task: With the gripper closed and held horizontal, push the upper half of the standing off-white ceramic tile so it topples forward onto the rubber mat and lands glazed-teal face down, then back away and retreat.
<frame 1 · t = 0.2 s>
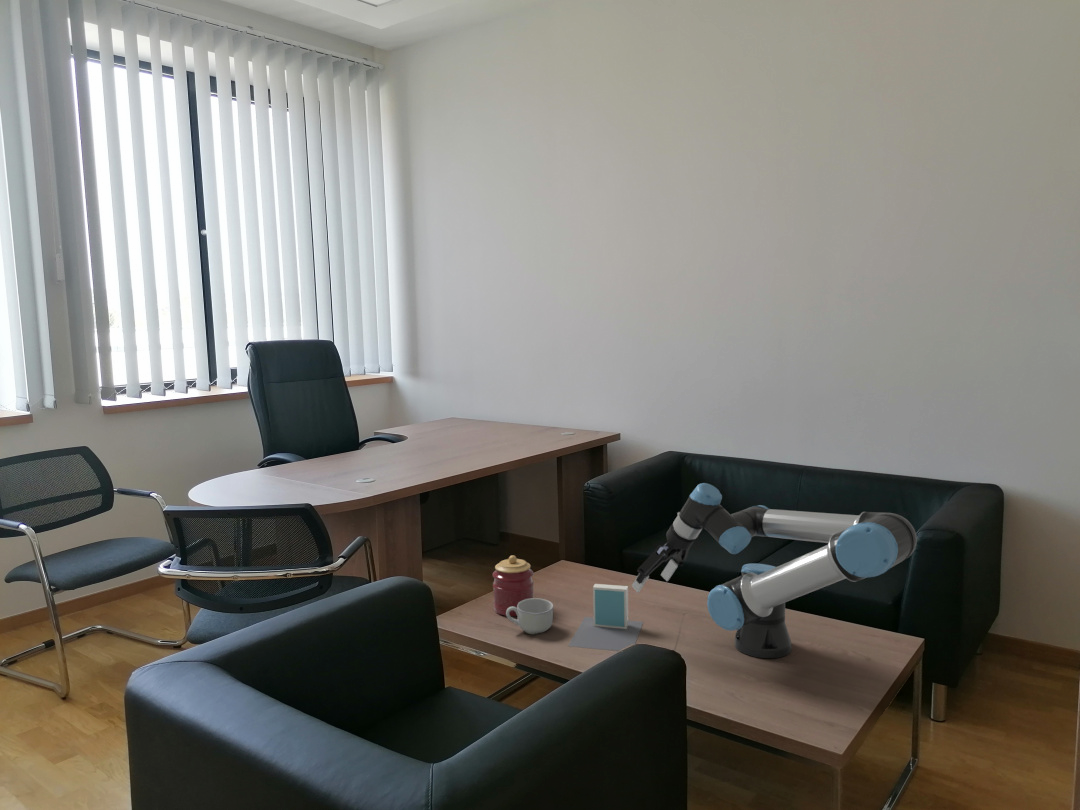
hand: (650, 583, 229), 15 cm above the table, tool tilted 35°, fingers open, 13 cm apart
teacup: (530, 631, 235), on the table
canister: (513, 609, 252), on the table
mat: (607, 635, 230), on the table
tile: (610, 625, 236), resting on mat
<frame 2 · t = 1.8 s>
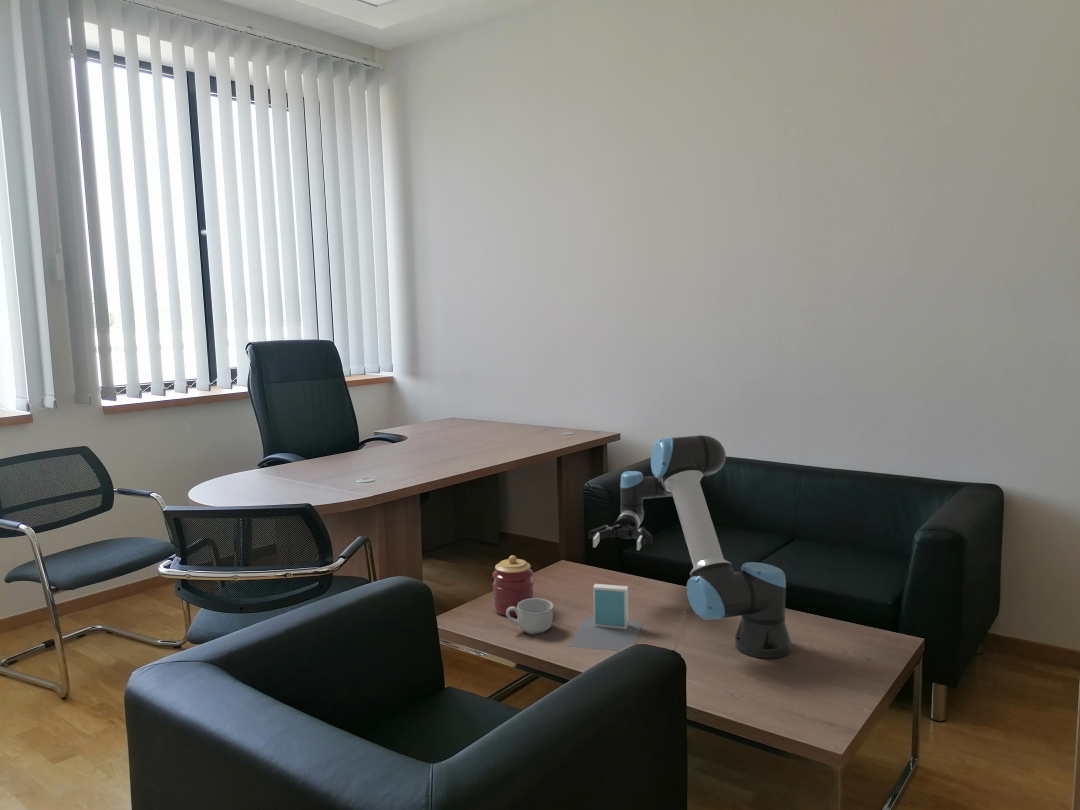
hand: (616, 544, 242), 23 cm above the table, tool horizontal, fingers open, 13 cm apart
nothing on the table moved.
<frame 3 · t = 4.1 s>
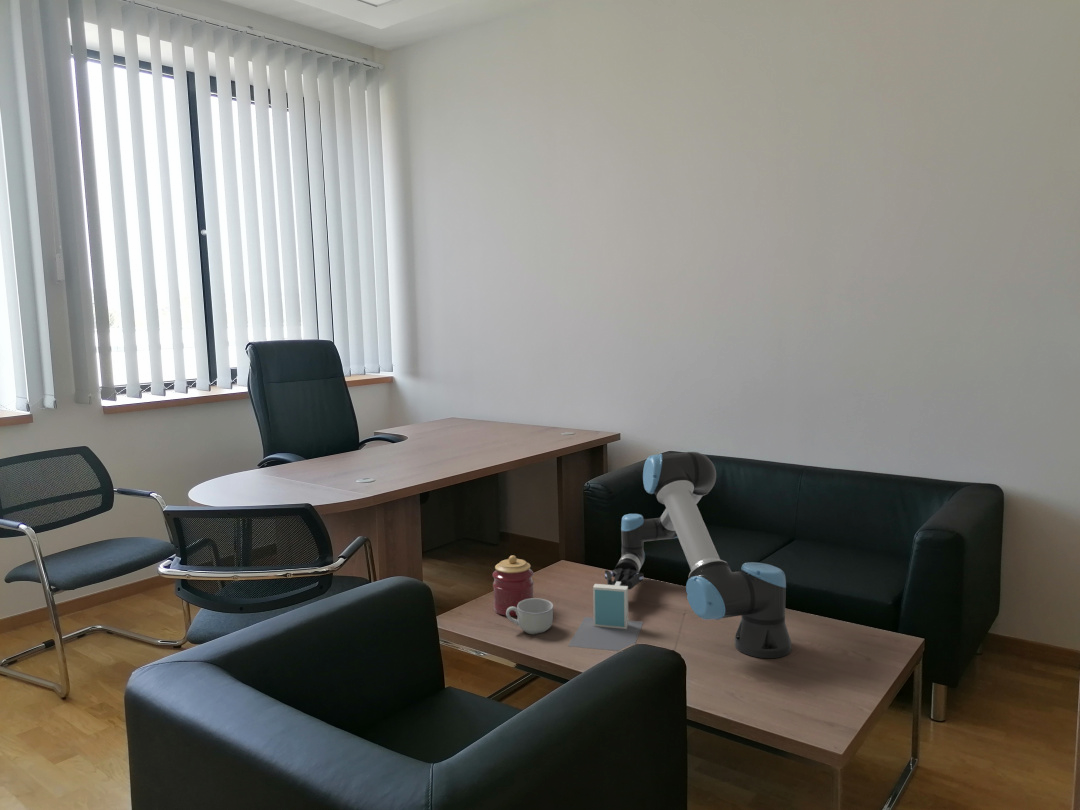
hand: (615, 592, 242), 8 cm above the table, tool horizontal, fingers closed
nothing on the table moved.
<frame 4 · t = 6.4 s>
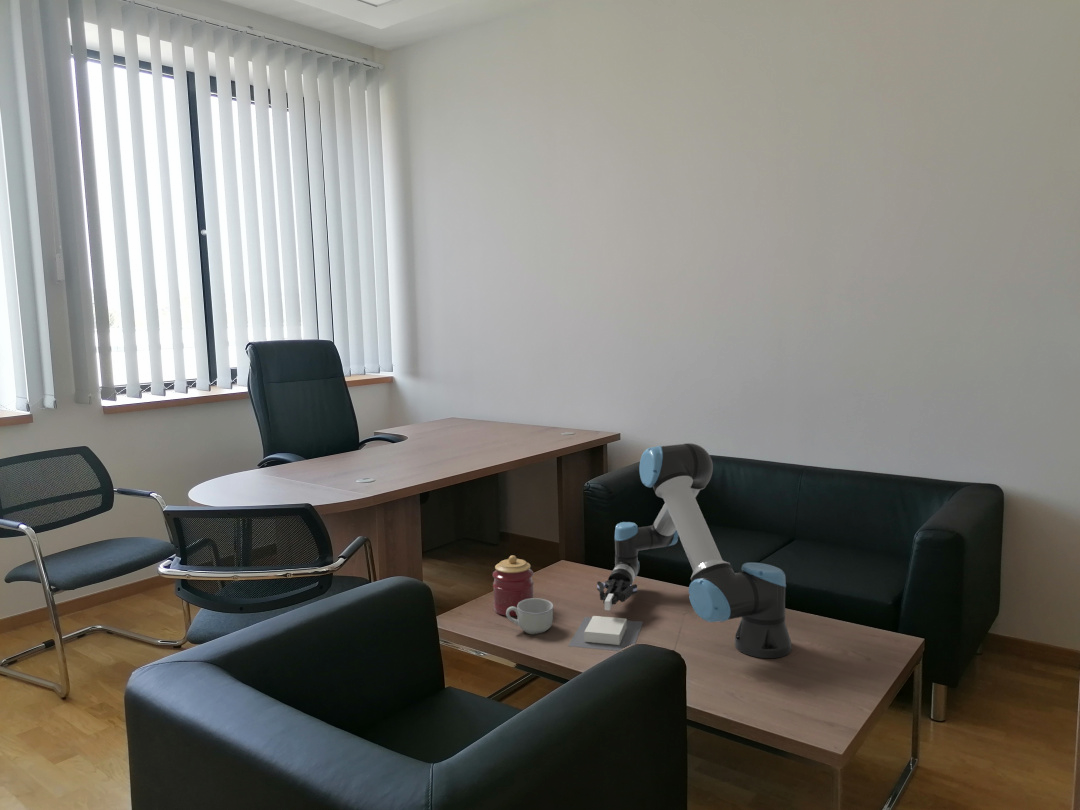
hand: (607, 605, 232), 8 cm above the table, tool horizontal, fingers closed
tile: (609, 622, 234), point 2 cm above the table, tilted 90°, touching mat
everything else where it was.
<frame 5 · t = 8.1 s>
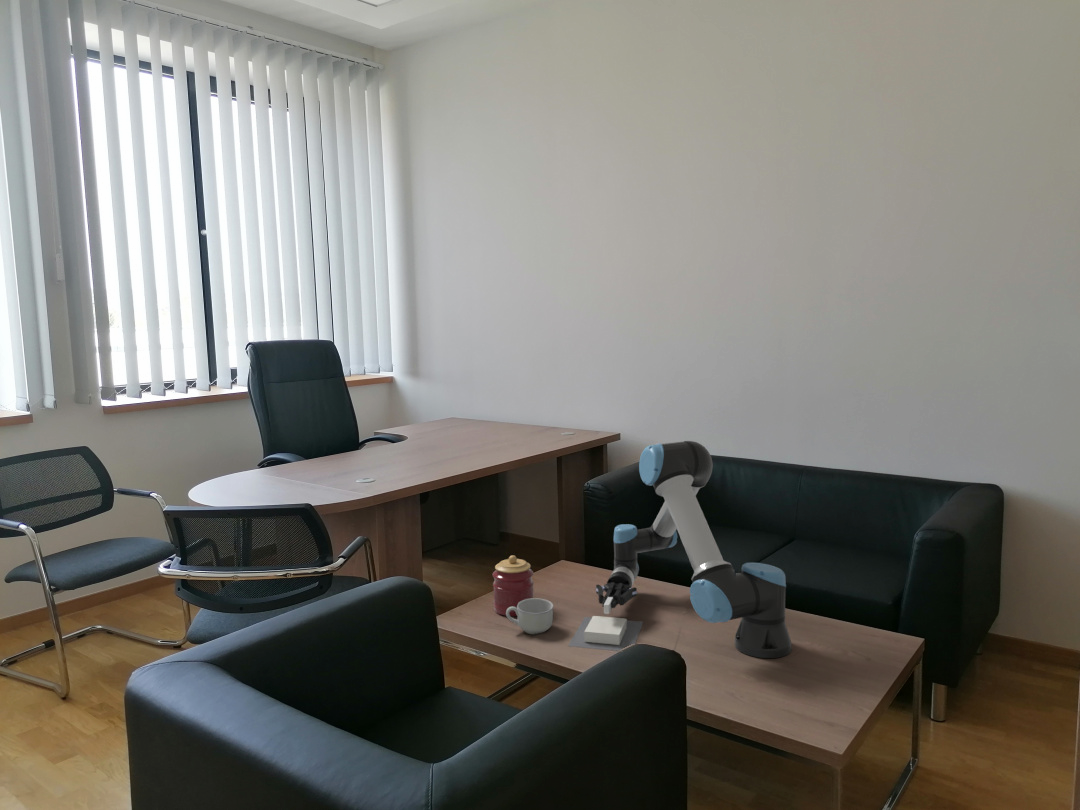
hand: (606, 609, 228), 8 cm above the table, tool horizontal, fingers closed
nothing on the table moved.
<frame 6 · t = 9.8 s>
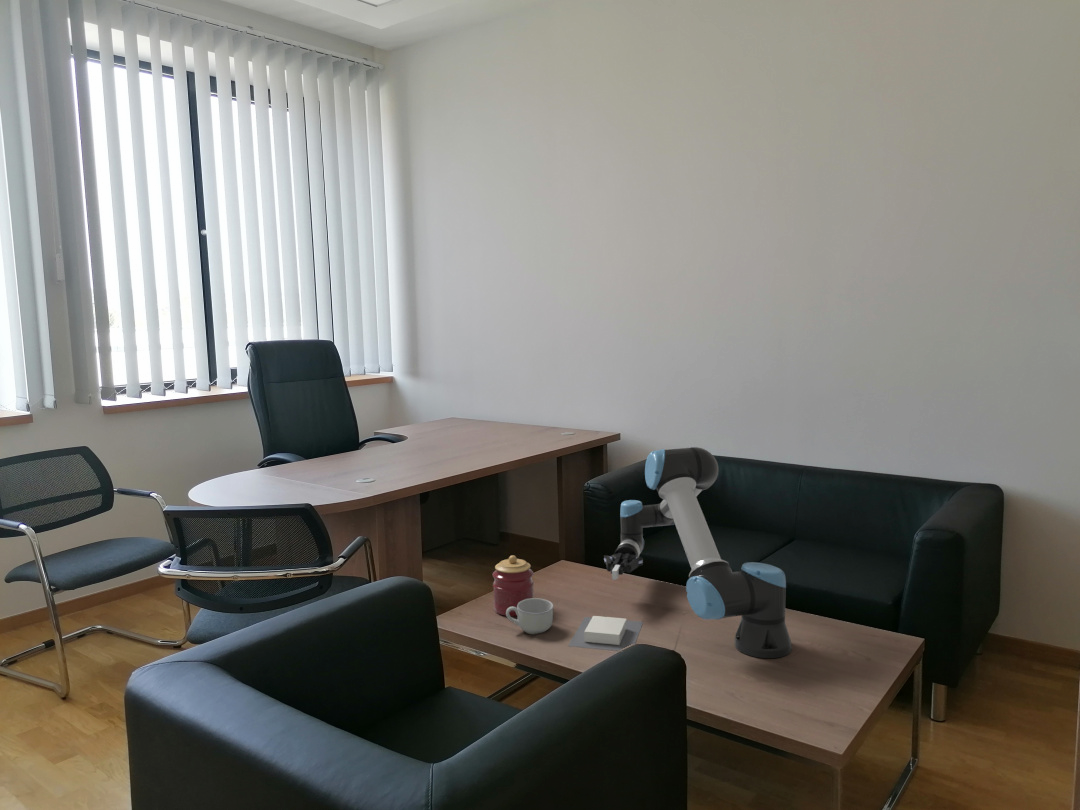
hand: (614, 575, 242), 13 cm above the table, tool horizontal, fingers closed
nothing on the table moved.
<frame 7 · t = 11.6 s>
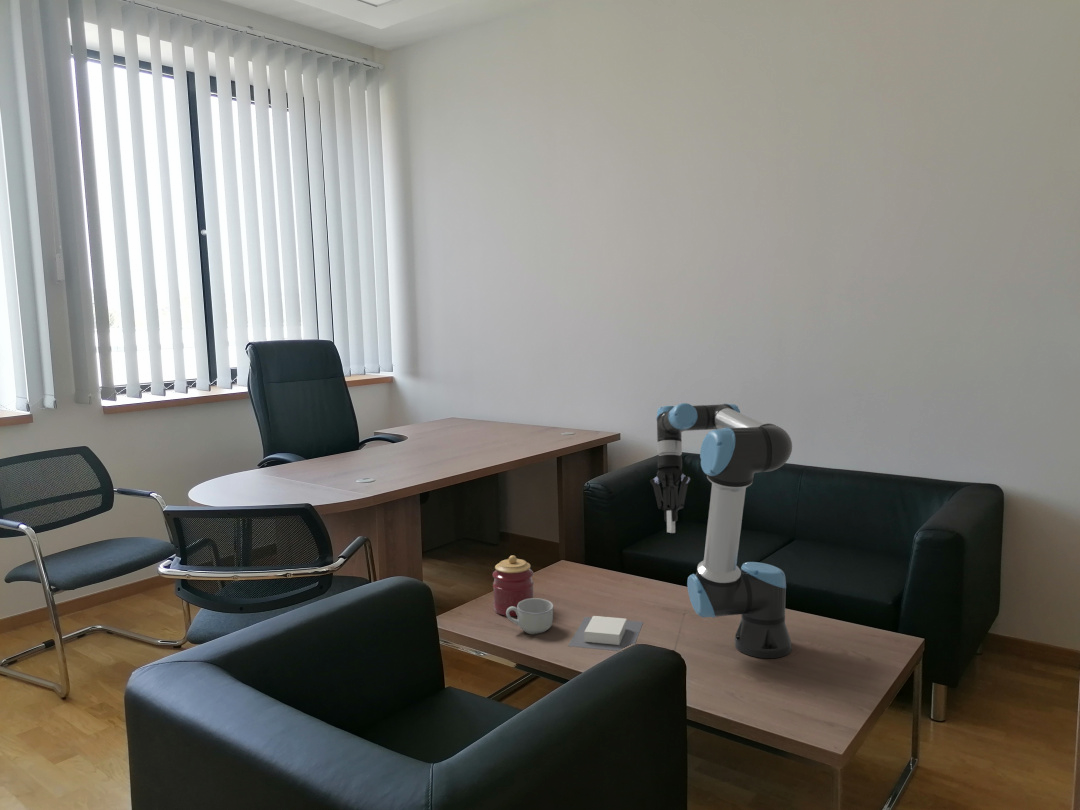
hand: (671, 532, 240), 27 cm above the table, tool tilted 20°, fingers closed
nothing on the table moved.
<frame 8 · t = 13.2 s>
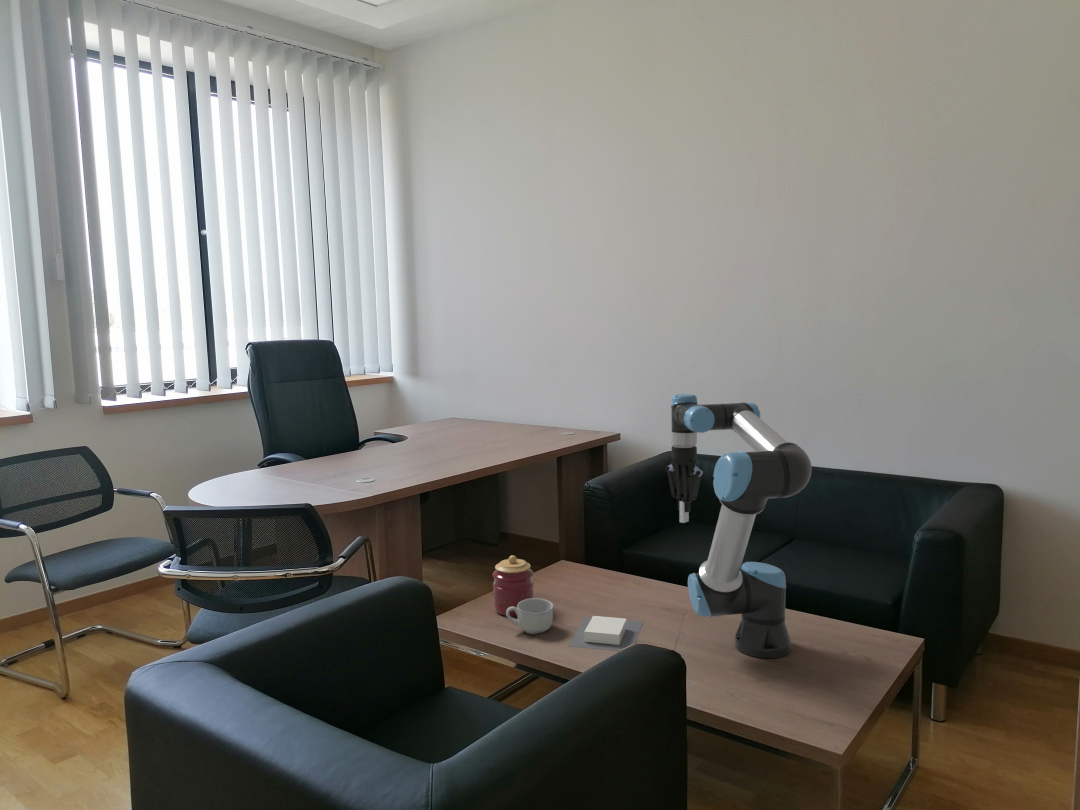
hand: (684, 521, 241), 29 cm above the table, tool pointing down, fingers closed
nothing on the table moved.
at the end: tile tilted 90°; tile 4.3 cm from the mat (horizontally); tile point 2.2 cm above the table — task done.
